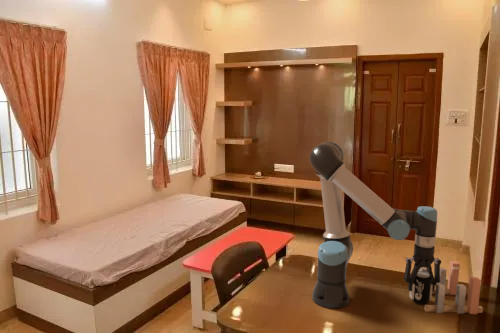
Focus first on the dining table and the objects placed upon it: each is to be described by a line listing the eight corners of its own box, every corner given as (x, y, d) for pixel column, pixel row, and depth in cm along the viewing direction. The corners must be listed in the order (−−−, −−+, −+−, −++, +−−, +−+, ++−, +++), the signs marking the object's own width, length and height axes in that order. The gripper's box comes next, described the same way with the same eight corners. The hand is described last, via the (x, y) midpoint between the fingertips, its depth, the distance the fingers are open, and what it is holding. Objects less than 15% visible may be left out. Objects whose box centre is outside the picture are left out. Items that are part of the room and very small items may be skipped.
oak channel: (425, 311, 153) (426, 306, 153) (409, 291, 170) (410, 287, 169) (482, 312, 153) (483, 308, 153) (460, 292, 169) (461, 288, 169)
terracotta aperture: (470, 314, 152) (473, 280, 150) (447, 291, 170) (449, 261, 168) (477, 314, 152) (480, 280, 150) (453, 291, 170) (456, 261, 168)
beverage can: (431, 305, 158) (433, 277, 156) (415, 305, 158) (417, 277, 157) (424, 297, 165) (426, 270, 163) (408, 297, 165) (410, 270, 163)
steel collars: (436, 313, 152) (439, 286, 151) (417, 291, 171) (419, 267, 169) (463, 313, 152) (466, 287, 150) (441, 291, 170) (444, 267, 169)
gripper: (403, 247, 154) (399, 302, 158) (453, 248, 154) (448, 303, 157) (397, 241, 162) (393, 293, 165) (444, 242, 161) (439, 294, 165)
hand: (420, 297), depth 161 cm, fingers closed on beverage can, 6 cm apart
